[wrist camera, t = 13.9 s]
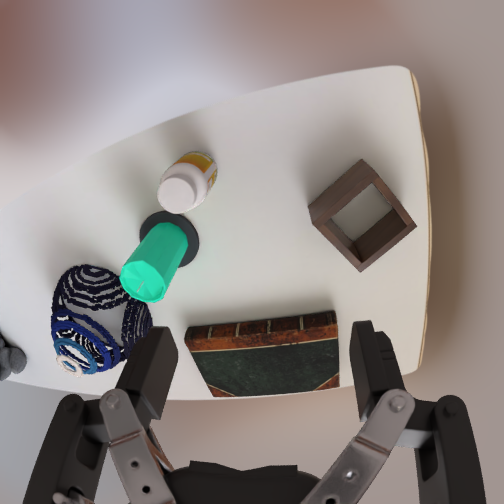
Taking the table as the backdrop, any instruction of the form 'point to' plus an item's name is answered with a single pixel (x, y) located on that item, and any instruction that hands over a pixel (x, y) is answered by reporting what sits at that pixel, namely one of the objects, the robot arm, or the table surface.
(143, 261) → the candle
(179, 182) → the supplement bottle
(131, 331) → the decorative bowl
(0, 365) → the koala plush
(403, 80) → the table surface
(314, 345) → the book
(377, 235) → the square wooden box
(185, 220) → the coaster
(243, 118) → the table surface
